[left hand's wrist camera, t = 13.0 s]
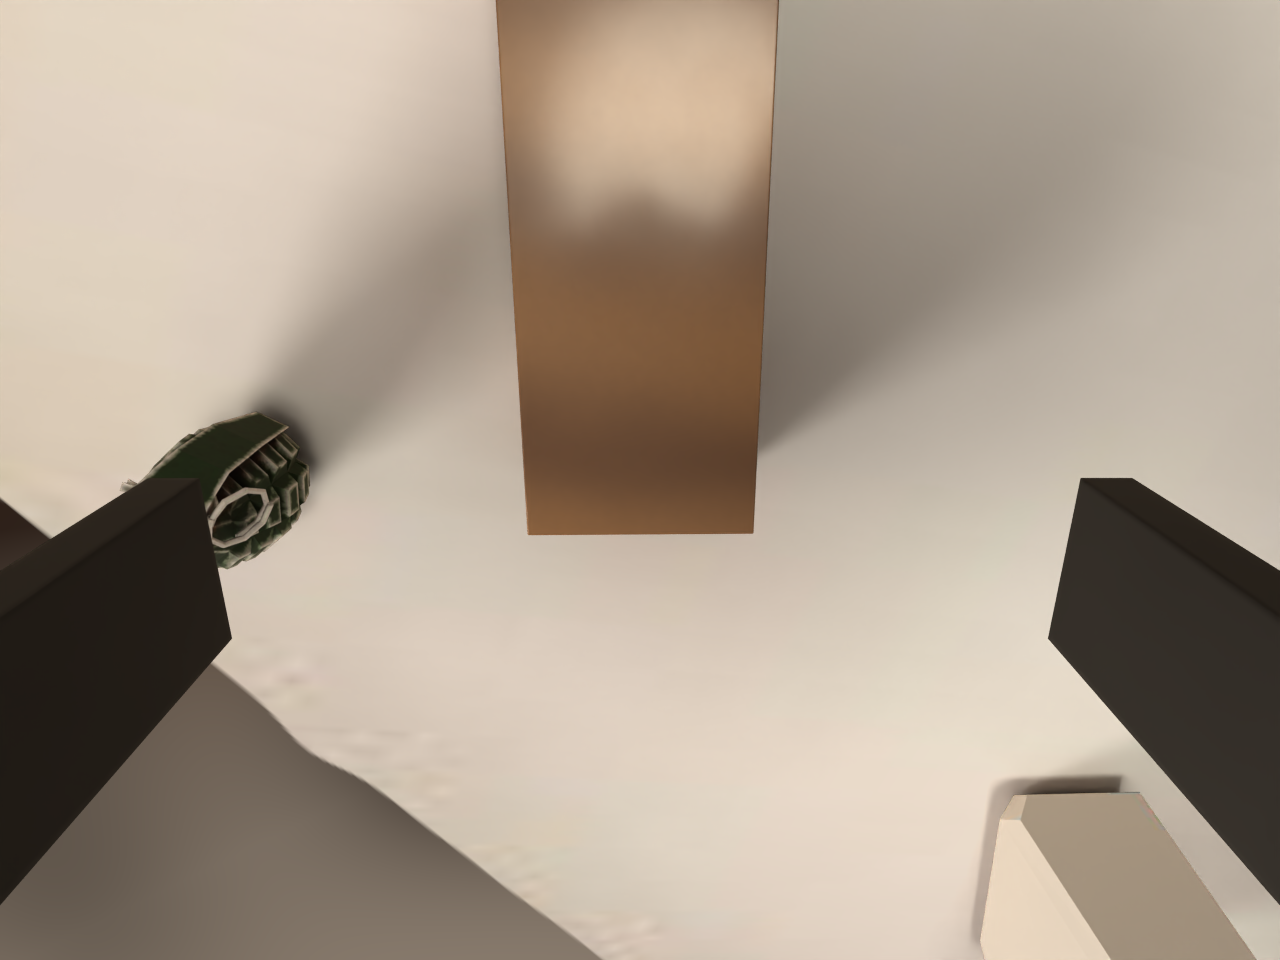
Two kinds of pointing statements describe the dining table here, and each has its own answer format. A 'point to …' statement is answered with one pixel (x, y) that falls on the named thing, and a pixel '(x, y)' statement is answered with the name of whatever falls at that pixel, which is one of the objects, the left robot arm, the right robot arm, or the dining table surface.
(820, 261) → the dining table surface
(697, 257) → the wide beam
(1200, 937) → the electronic device
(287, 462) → the grenade
